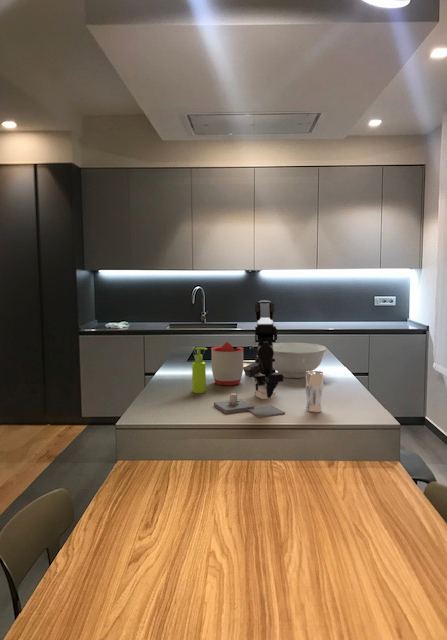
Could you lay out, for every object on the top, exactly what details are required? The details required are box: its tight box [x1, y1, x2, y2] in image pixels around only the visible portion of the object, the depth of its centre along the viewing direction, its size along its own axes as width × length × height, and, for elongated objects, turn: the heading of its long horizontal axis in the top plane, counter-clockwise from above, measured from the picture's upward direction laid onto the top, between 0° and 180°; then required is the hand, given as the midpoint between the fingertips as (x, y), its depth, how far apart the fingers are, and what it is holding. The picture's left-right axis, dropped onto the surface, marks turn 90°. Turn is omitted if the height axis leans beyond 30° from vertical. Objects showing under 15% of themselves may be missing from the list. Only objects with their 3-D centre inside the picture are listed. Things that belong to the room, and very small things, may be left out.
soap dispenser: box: [191, 346, 208, 394], centre depth 227 cm, size 6×7×20 cm
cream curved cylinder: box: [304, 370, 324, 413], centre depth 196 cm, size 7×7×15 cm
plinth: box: [213, 392, 255, 415], centre depth 201 cm, size 12×12×6 cm
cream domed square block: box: [255, 385, 276, 400], centre depth 195 cm, size 6×6×4 cm
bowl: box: [272, 342, 327, 379], centre depth 258 cm, size 32×32×15 cm
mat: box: [247, 404, 286, 419], centre depth 196 cm, size 11×11×1 cm
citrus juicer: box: [210, 341, 244, 387], centre depth 243 cm, size 16×17×20 cm
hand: (265, 395), depth 195 cm, fingers closed on cream domed square block, 6 cm apart
